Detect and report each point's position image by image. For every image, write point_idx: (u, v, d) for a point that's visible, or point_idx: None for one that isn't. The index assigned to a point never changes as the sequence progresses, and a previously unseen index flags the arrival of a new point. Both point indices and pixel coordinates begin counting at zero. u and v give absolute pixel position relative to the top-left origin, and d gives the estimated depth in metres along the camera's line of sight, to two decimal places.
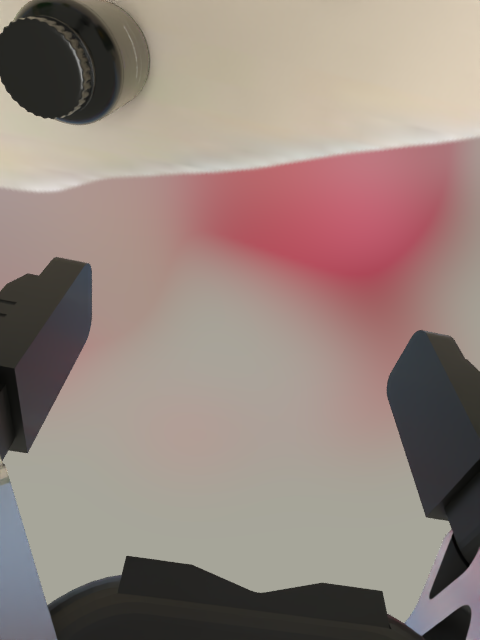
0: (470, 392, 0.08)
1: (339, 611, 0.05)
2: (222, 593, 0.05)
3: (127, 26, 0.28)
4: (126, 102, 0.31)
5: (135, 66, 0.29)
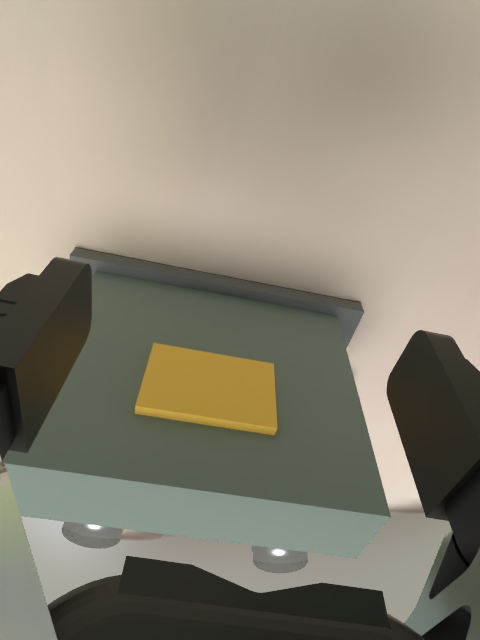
0: (470, 392, 0.08)
1: (339, 610, 0.05)
2: (221, 593, 0.05)
3: None
4: None
5: None
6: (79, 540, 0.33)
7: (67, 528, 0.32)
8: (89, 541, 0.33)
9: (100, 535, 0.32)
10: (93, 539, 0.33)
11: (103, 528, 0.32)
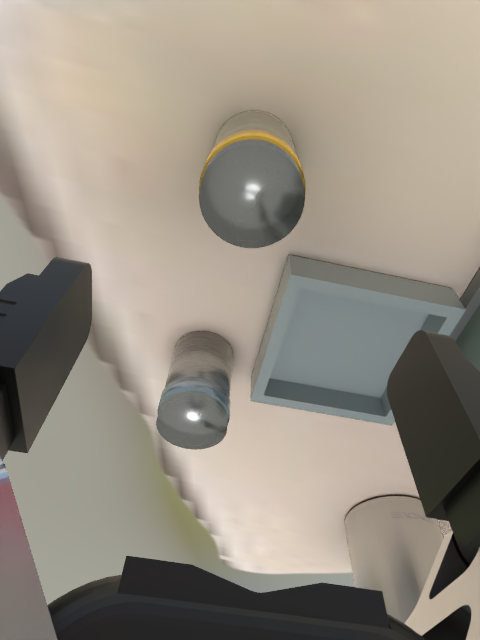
0: (470, 392, 0.08)
1: (339, 611, 0.05)
2: (222, 594, 0.05)
3: None
4: None
5: None
6: (227, 172, 0.17)
7: (273, 160, 0.17)
8: (225, 191, 0.18)
9: (249, 215, 0.18)
10: (232, 200, 0.18)
11: (274, 225, 0.18)
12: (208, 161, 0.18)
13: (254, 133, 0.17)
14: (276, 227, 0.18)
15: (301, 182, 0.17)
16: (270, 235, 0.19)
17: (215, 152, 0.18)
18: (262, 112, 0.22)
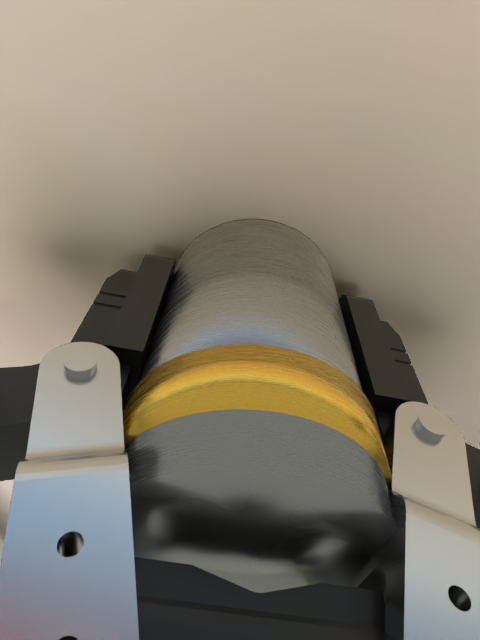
0: (375, 346, 0.09)
1: (339, 611, 0.05)
2: (222, 593, 0.05)
3: None
4: None
5: None
6: (165, 516, 0.05)
7: (313, 501, 0.05)
8: (166, 545, 0.06)
9: (237, 582, 0.06)
10: (187, 560, 0.06)
11: None
12: None
13: (252, 374, 0.06)
14: None
15: None
16: None
17: (136, 430, 0.06)
18: (270, 226, 0.10)
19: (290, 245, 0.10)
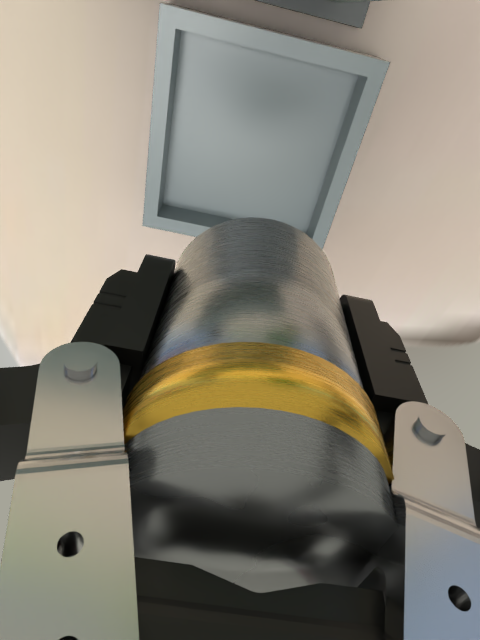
0: (375, 346, 0.09)
1: (339, 611, 0.05)
2: (221, 592, 0.05)
3: None
4: None
5: None
6: (166, 515, 0.05)
7: (314, 499, 0.05)
8: (166, 545, 0.06)
9: (238, 581, 0.06)
10: (187, 559, 0.06)
11: None
12: None
13: (253, 372, 0.06)
14: None
15: None
16: None
17: (136, 428, 0.06)
18: (271, 224, 0.10)
19: (291, 243, 0.10)
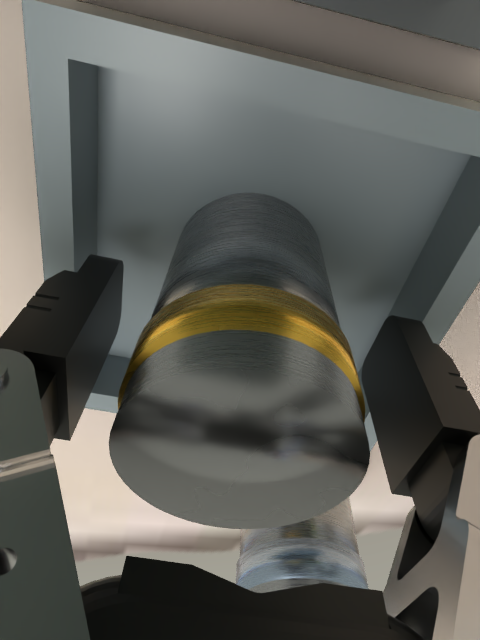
0: (434, 372, 0.09)
1: (339, 611, 0.05)
2: (221, 593, 0.05)
3: None
4: None
5: None
6: (173, 416, 0.07)
7: (293, 398, 0.06)
8: (173, 447, 0.07)
9: (233, 486, 0.08)
10: (191, 462, 0.07)
11: (291, 501, 0.08)
12: (133, 368, 0.07)
13: (244, 305, 0.07)
14: (296, 503, 0.08)
15: (364, 437, 0.07)
16: (282, 514, 0.08)
17: (148, 351, 0.07)
18: (264, 198, 0.11)
19: (281, 214, 0.11)
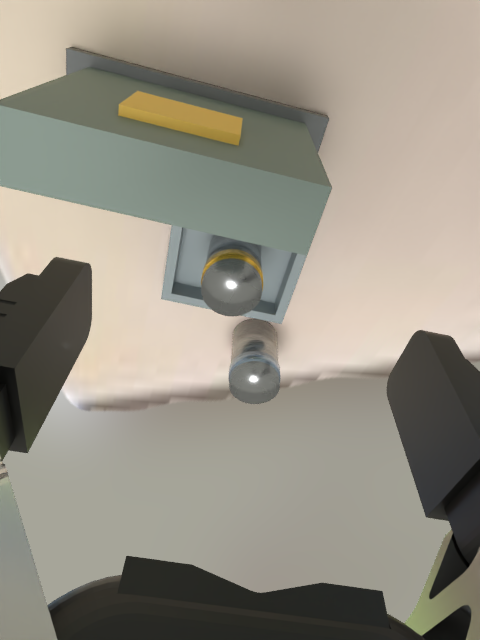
0: (470, 392, 0.08)
1: (339, 611, 0.05)
2: (222, 593, 0.05)
3: None
4: None
5: None
6: (217, 277, 0.30)
7: (243, 272, 0.30)
8: (216, 286, 0.30)
9: (230, 299, 0.31)
10: (220, 291, 0.31)
11: (244, 304, 0.31)
12: (206, 268, 0.30)
13: (233, 253, 0.30)
14: (246, 305, 0.31)
15: (259, 283, 0.30)
16: (242, 309, 0.31)
17: (210, 264, 0.30)
18: None
19: None
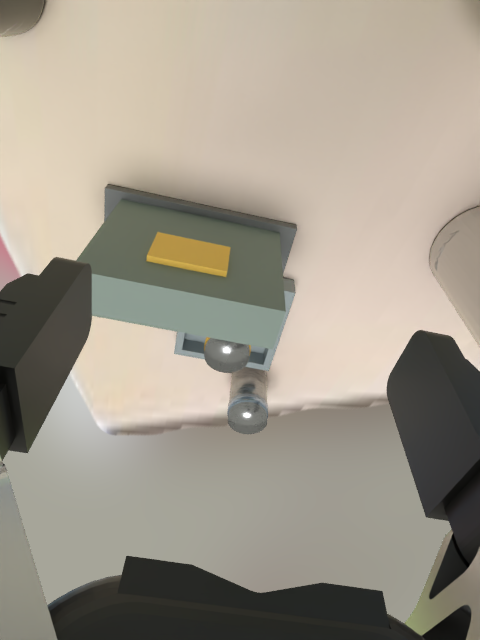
0: (470, 392, 0.08)
1: (339, 611, 0.05)
2: (221, 593, 0.05)
3: (15, 28, 0.29)
4: None
5: None
6: (215, 346, 0.40)
7: (235, 343, 0.40)
8: (215, 353, 0.41)
9: (225, 361, 0.41)
10: (218, 356, 0.41)
11: (236, 365, 0.42)
12: (208, 339, 0.41)
13: None
14: (238, 365, 0.42)
15: (247, 350, 0.41)
16: (235, 368, 0.42)
17: None
18: None
19: None
